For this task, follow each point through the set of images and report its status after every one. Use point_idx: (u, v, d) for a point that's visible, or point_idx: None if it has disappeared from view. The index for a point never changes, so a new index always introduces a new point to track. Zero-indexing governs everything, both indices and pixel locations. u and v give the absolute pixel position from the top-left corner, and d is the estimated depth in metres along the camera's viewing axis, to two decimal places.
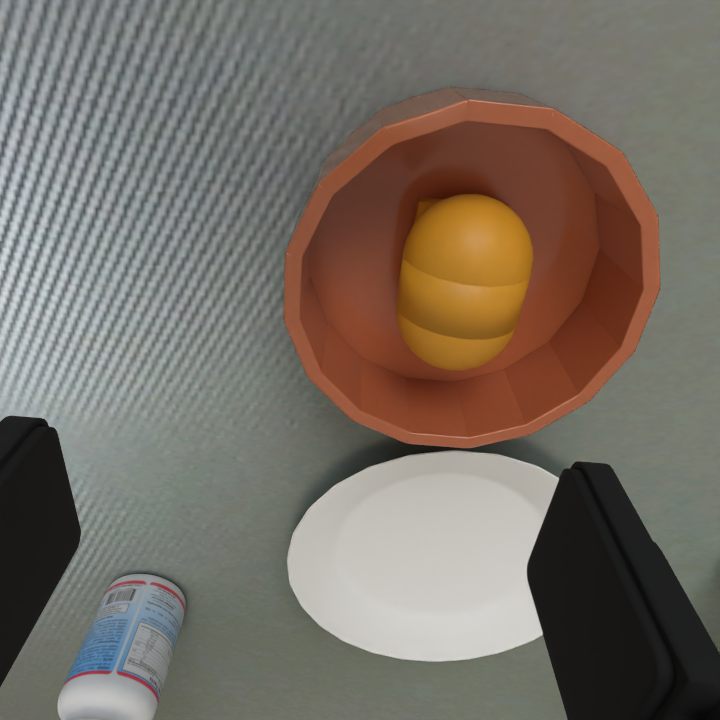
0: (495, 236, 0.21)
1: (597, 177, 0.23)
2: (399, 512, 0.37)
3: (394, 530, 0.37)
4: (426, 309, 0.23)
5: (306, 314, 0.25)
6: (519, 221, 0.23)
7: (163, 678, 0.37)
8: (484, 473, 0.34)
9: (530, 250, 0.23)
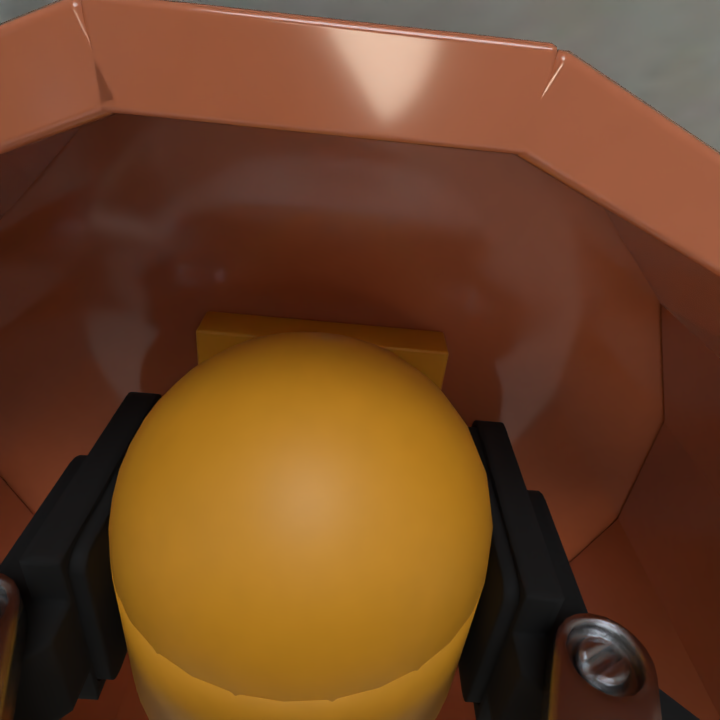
0: (339, 539, 0.06)
1: (694, 297, 0.07)
2: None
3: None
4: (157, 704, 0.07)
5: None
6: (442, 443, 0.07)
7: None
8: None
9: (479, 534, 0.07)
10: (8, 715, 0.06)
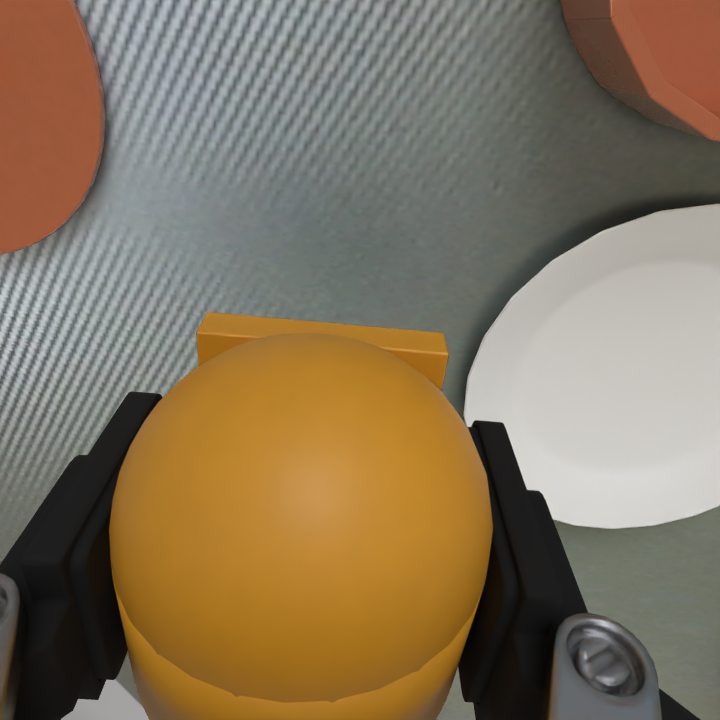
0: (340, 539, 0.06)
1: None
2: (604, 321, 0.30)
3: (592, 348, 0.31)
4: (157, 705, 0.07)
5: None
6: (442, 445, 0.07)
7: None
8: None
9: (479, 535, 0.07)
10: (8, 715, 0.06)
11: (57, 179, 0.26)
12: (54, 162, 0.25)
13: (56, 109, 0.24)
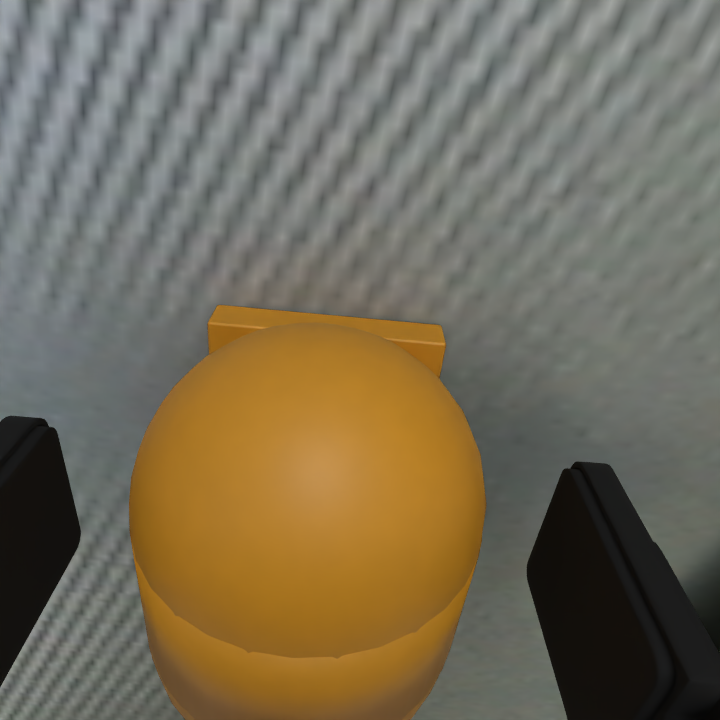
0: (343, 506, 0.06)
1: None
2: None
3: None
4: (173, 667, 0.08)
5: None
6: (438, 424, 0.07)
7: None
8: None
9: (472, 508, 0.08)
10: None
11: None
12: None
13: None
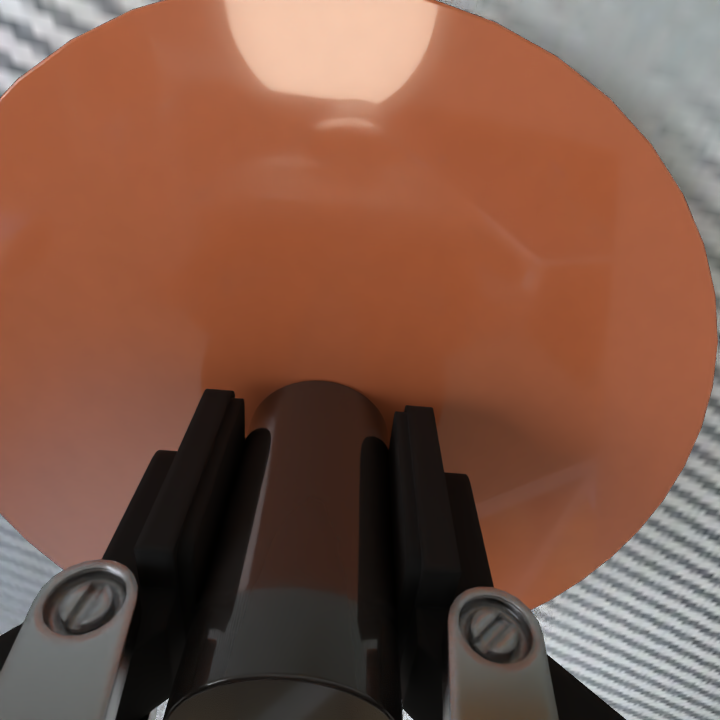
0: None
1: None
2: None
3: None
4: None
5: None
6: None
7: None
8: None
9: None
10: (112, 712, 0.06)
11: (568, 187, 0.09)
12: (523, 181, 0.09)
13: (390, 135, 0.09)
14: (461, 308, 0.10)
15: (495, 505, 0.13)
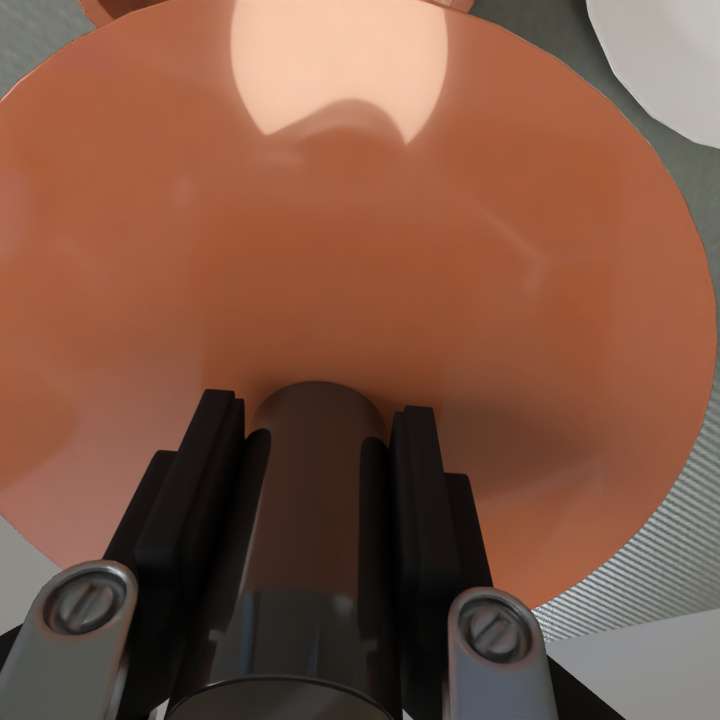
0: None
1: None
2: None
3: None
4: None
5: None
6: None
7: None
8: None
9: None
10: (112, 711, 0.06)
11: (568, 188, 0.09)
12: (523, 182, 0.09)
13: (390, 137, 0.09)
14: (461, 309, 0.10)
15: (495, 506, 0.13)
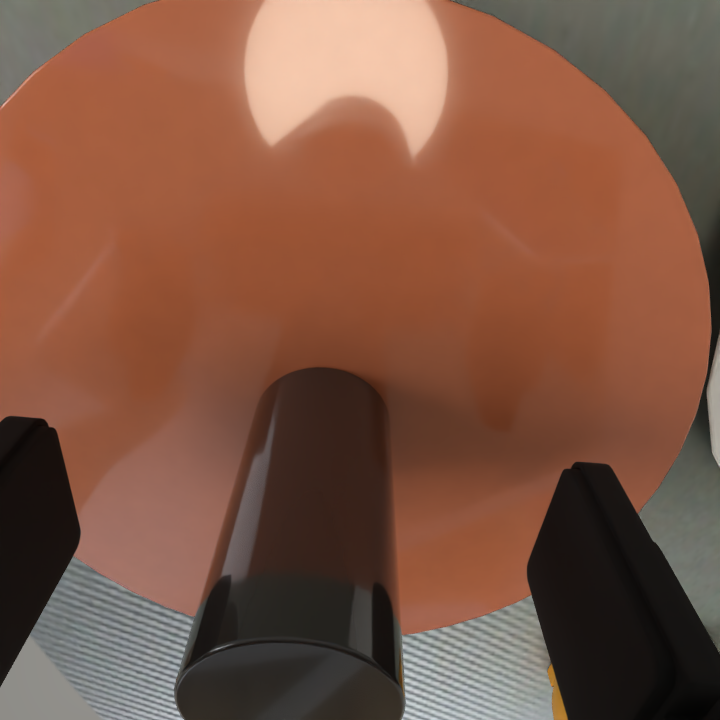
0: None
1: None
2: None
3: None
4: None
5: None
6: None
7: None
8: None
9: None
10: None
11: (565, 177, 0.09)
12: (521, 171, 0.09)
13: (392, 127, 0.09)
14: (461, 296, 0.11)
15: (495, 491, 0.13)
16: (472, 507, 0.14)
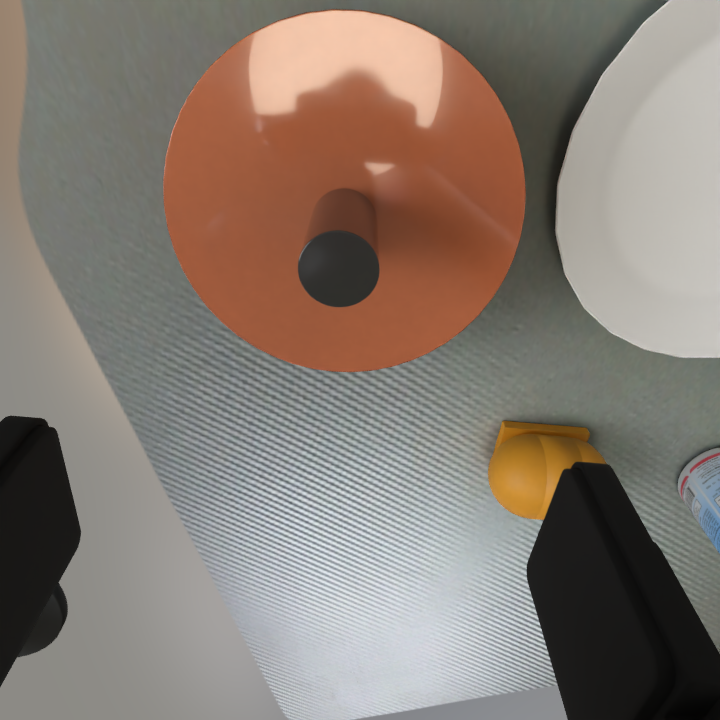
0: (512, 490, 0.35)
1: None
2: (661, 227, 0.31)
3: (691, 231, 0.31)
4: None
5: None
6: (507, 461, 0.36)
7: None
8: (615, 132, 0.28)
9: (527, 461, 0.35)
10: None
11: (449, 92, 0.22)
12: (430, 89, 0.22)
13: (376, 70, 0.22)
14: (408, 150, 0.24)
15: (430, 263, 0.26)
16: (420, 274, 0.27)
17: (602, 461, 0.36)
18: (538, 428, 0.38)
